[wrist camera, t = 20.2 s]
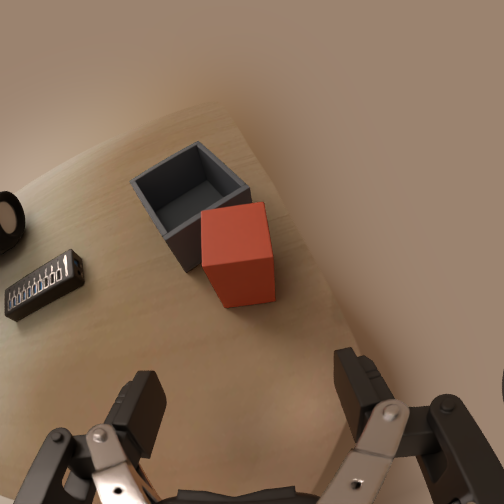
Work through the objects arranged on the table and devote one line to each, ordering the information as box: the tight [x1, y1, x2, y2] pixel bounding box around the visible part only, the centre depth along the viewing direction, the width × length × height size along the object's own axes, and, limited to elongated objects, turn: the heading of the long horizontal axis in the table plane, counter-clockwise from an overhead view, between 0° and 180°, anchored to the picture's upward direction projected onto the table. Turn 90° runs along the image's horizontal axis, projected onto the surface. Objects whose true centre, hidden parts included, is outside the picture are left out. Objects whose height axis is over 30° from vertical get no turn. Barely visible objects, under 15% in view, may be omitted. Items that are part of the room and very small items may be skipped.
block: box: [201, 202, 275, 308], centre depth 25 cm, size 5×5×9 cm
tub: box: [129, 141, 252, 273], centre depth 30 cm, size 10×9×6 cm
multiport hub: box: [5, 249, 84, 322], centre depth 29 cm, size 4×14×2 cm, turn 115°
